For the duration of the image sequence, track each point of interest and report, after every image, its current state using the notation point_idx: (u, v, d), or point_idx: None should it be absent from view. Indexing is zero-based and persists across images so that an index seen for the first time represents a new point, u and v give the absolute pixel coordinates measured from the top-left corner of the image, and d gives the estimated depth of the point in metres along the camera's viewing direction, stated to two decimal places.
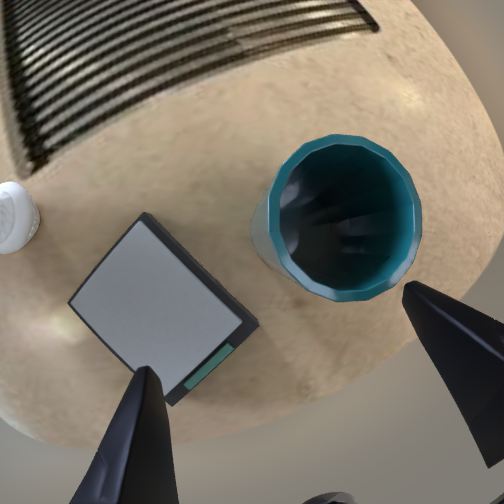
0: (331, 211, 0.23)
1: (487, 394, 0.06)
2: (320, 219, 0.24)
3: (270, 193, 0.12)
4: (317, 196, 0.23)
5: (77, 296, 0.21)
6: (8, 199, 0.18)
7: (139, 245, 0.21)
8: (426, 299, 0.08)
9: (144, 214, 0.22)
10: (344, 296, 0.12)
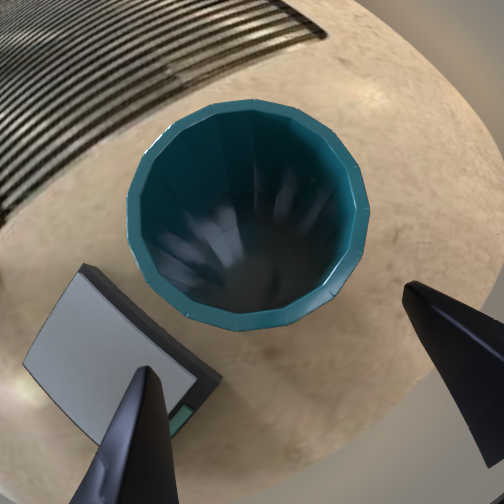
0: (290, 235, 0.19)
1: (487, 394, 0.06)
2: (281, 249, 0.21)
3: (129, 190, 0.08)
4: (271, 221, 0.20)
5: (28, 356, 0.17)
6: None
7: (79, 299, 0.18)
8: (426, 299, 0.08)
9: (84, 265, 0.19)
10: (247, 321, 0.08)
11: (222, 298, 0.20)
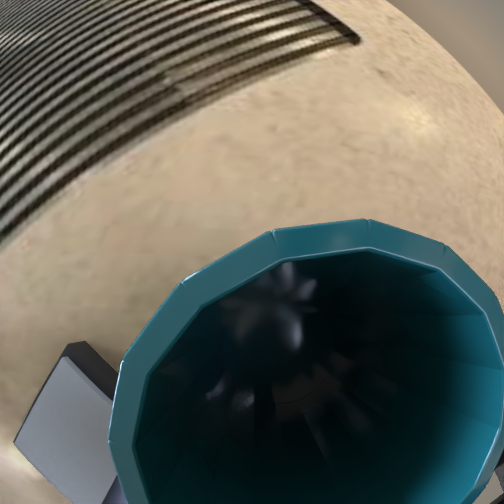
0: (331, 319, 0.14)
1: None
2: (317, 329, 0.16)
3: (109, 432, 0.03)
4: (307, 298, 0.15)
5: (18, 438, 0.12)
6: None
7: (67, 390, 0.13)
8: None
9: (69, 347, 0.14)
10: None
11: (243, 389, 0.15)
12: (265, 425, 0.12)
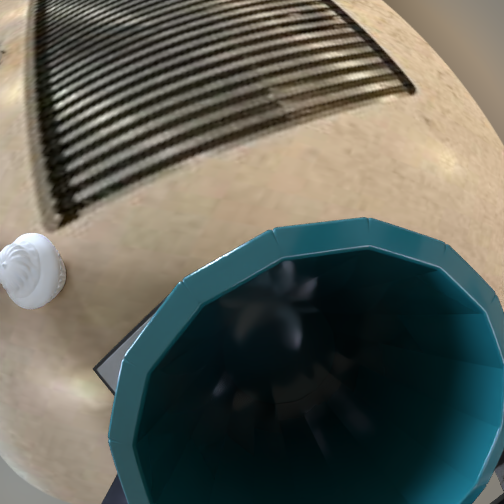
0: (331, 318, 0.14)
1: None
2: (317, 328, 0.16)
3: (110, 431, 0.03)
4: (307, 298, 0.15)
5: (105, 364, 0.20)
6: (33, 252, 0.19)
7: None
8: None
9: None
10: None
11: (243, 389, 0.15)
12: (265, 425, 0.12)
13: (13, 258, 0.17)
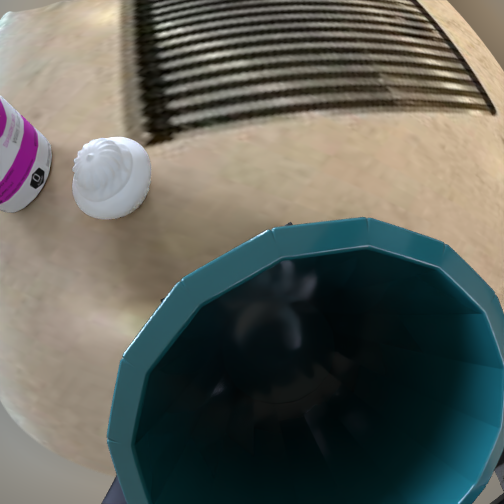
0: (331, 318, 0.14)
1: None
2: (317, 328, 0.16)
3: (108, 431, 0.03)
4: (307, 298, 0.15)
5: None
6: (127, 153, 0.18)
7: None
8: None
9: None
10: None
11: (243, 389, 0.15)
12: (265, 425, 0.12)
13: (104, 151, 0.17)
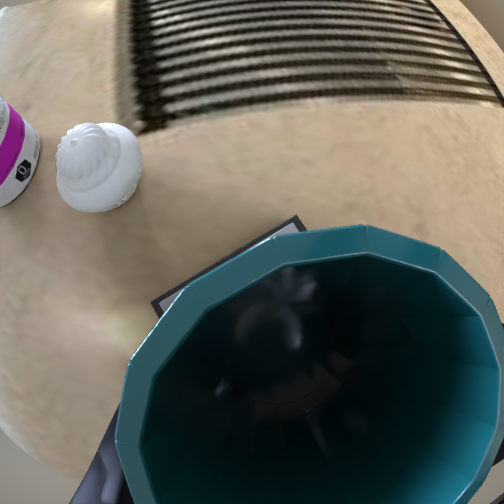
0: (331, 319, 0.15)
1: None
2: (317, 329, 0.16)
3: (116, 432, 0.04)
4: (307, 299, 0.15)
5: (173, 296, 0.17)
6: (115, 139, 0.16)
7: None
8: None
9: (296, 218, 0.18)
10: None
11: (244, 390, 0.15)
12: (266, 425, 0.12)
13: (89, 136, 0.14)
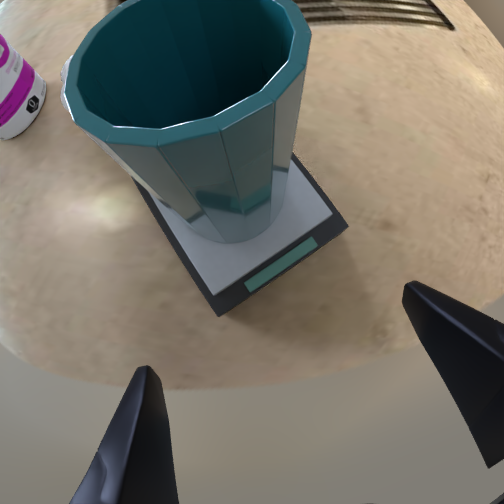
0: None
1: (487, 394, 0.06)
2: None
3: (72, 57, 0.07)
4: None
5: None
6: None
7: None
8: (426, 299, 0.08)
9: None
10: (169, 133, 0.06)
11: None
12: None
13: None
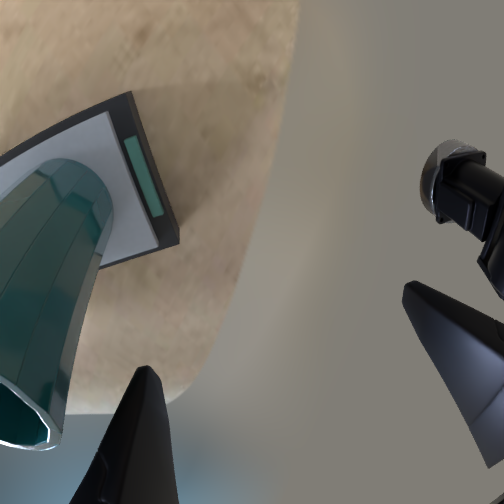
0: None
1: (487, 394, 0.06)
2: None
3: None
4: None
5: None
6: None
7: None
8: (426, 299, 0.08)
9: None
10: (52, 428, 0.06)
11: None
12: None
13: None
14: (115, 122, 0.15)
